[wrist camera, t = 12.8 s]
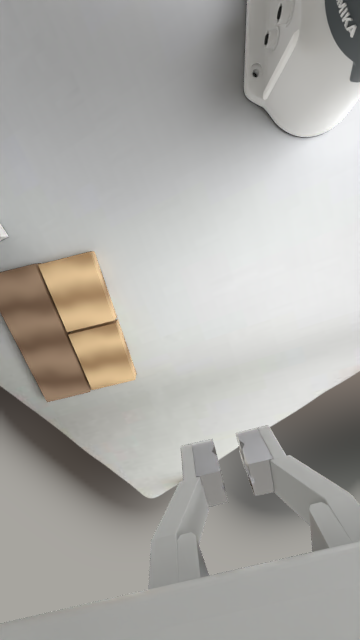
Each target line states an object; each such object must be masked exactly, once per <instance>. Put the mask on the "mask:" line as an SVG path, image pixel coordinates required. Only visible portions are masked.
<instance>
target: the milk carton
mask: <svg viewBox="0 0 360 640" xmlns="http://www.w3.org/2000/svg"><path fill="white" fill-rule="evenodd" d="M7 237H8V235H7V233H6V232H5V230H4V229H3V227H2V225H1V224H0V241H1V240H3V239H5V238H7Z"/></svg>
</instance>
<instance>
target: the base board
mask: <svg viewBox="0 0 360 640" xmlns="http://www.w3.org/2000/svg"><path fill="white" fill-rule="evenodd" d="M39 264H41V263H38V264H32V265H28V266H24V267H20V268H16V269H12V270H8V271H4V272H0V312H1V314H2V316H3V318H4V320H5V322H6V324H7V326H8V328H9V330H10V332H11V334H12V336H13V337H14V339H15V341H16V343H17V345H18V347H19V349H20V351H21V353H22V355H23V357H24V359H25V361H26V363H27V365H28V366H29V368H30V370H31V372H32V374H33V376H34V378H35V380H36V382H37V384H38V386H39V388H40V390H41V392H42V394H43V395H44V397H45V399H46V401H47V402H50V401H54V400H58V399H63V398H67V397H71V396H75V395H79V394H83V393H87V392H90V391H91V387H90V384H89V382H88V380H87V377H86V375H85V373H84V370H83V368H82V366H81V363H80V361H79V359H78V356H77V354H76V352H75V349H74V347H73V345H72V343H71V340H70V338H69V336H68V335H69V334H70V333H71V332H70V331H69V332H67V331H66V329H65V326H64V324H63V322H62V319H61V317H60V315H59V312H58V310H57V308H56V305H55V303H54V301H53V298H52V296H51V294H50V291H49V289H48V287H47V284H46V282H45V280H44V277H43V275H42V273H41V271H40V268H39V266H38V265H39Z"/></svg>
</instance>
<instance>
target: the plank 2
mask: <svg viewBox="0 0 360 640" xmlns="http://www.w3.org/2000/svg"><path fill="white" fill-rule="evenodd" d="M68 336H69V338H70V340H71V343H72V345H73V347H74V349H75V352H76V354H77V356H78V359H79V361H80V363H81V366H82V368H83V370H84V373H85V375H86V377H87V380H88V382H89V384H90V387H91V389H92V390H94V389H99V388H103V387H107V386H111V385H115V384H120V383H124V382H128V381H132V380H135V378H136V371H135V368H134V365H133V362H132V359H131V356H130V353H129V350H128V347H127V345H126V342H125V339H124V336H123V333H122V330H121V327H120V324H119V321H118V320H114V321H110V322H106V323H102V324H98V325H94V326H90V327H86V328H82V329H77V330H73V331H72V332H71V333H70V334H69V335H68Z"/></svg>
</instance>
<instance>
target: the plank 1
mask: <svg viewBox="0 0 360 640" xmlns="http://www.w3.org/2000/svg"><path fill="white" fill-rule="evenodd" d="M38 266H39V268H40V271H41V273H42V275H43V277H44V280H45V282H46V284H47V287H48V289H49V291H50V294H51V296H52V298H53V301H54V303H55V305H56V308H57V310H58V312H59V315H60V317H61V319H62V322H63V324H64V326H65V329H66V331H67V332H69V331H73V330H77V329H82V328H86V327H90V326H94V325H98V324H102V323H106V322H110V321H114V320H115V319H116V317H117V316H116V313H115V310H114V307H113V304H112V301H111V298H110V295H109V293H108V290H107V287H106V284H105V281H104V278H103V275H102V272H101V269H100V267H99V264H98V261H97V258H96V255H95V252H94V251H92V252H86V253H82V254H79V255H75V256H71V257H67V258H63V259H59V260H55V261H51V262H47V263H43V264H39V265H38Z"/></svg>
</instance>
